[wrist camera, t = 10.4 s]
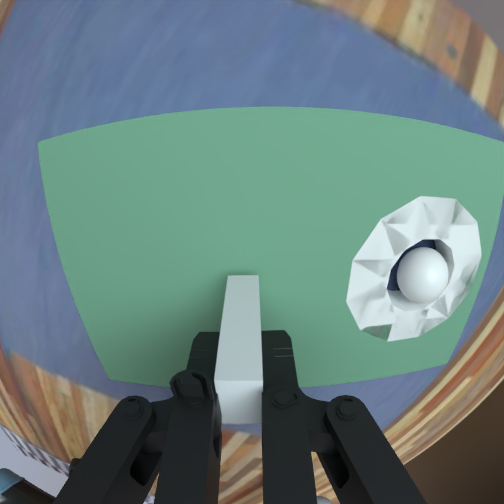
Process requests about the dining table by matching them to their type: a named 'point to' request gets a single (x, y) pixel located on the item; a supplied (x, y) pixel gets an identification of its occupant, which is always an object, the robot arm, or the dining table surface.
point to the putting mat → (271, 233)
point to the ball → (422, 275)
